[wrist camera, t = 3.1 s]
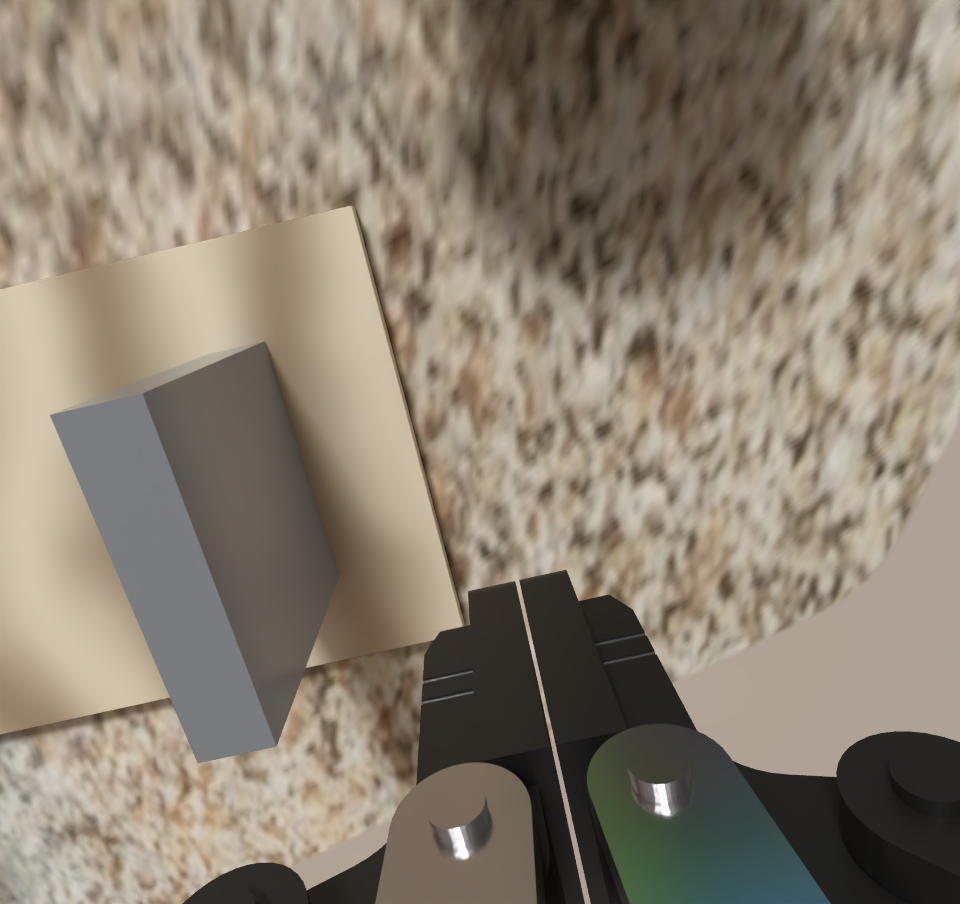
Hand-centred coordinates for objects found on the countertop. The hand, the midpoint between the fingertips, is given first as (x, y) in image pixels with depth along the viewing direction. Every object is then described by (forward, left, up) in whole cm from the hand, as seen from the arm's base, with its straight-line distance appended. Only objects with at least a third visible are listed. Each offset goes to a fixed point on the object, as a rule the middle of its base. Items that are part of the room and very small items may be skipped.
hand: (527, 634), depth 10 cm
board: (+13, 0, -15) cm, 19 cm away
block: (+8, 0, -14) cm, 16 cm away
